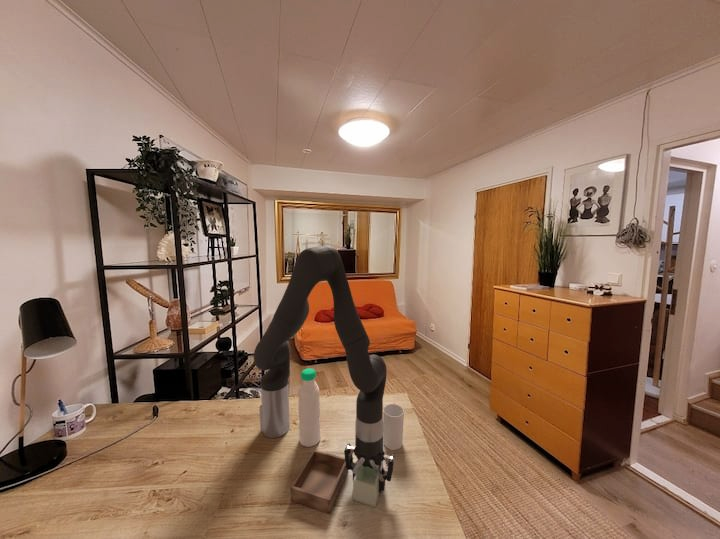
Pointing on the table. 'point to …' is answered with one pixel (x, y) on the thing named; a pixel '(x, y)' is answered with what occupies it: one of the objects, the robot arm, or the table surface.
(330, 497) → the walnut crate
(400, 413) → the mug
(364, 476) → the sage crate
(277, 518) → the table surface
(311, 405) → the water bottle
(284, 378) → the robot arm
